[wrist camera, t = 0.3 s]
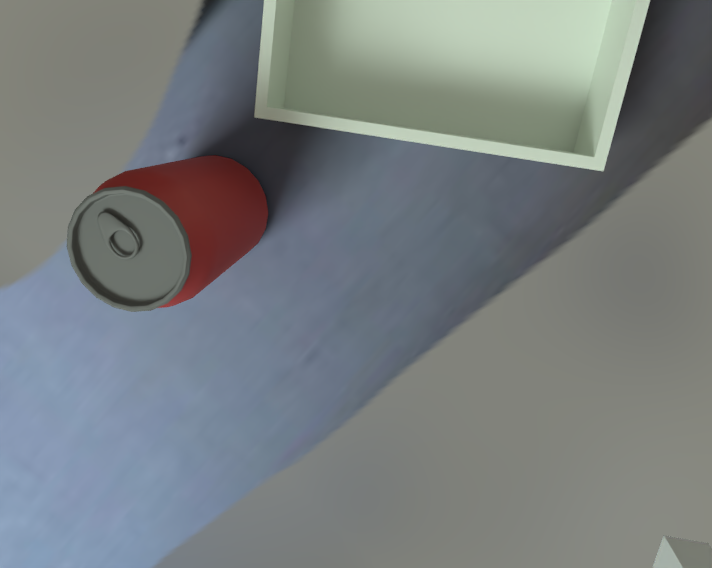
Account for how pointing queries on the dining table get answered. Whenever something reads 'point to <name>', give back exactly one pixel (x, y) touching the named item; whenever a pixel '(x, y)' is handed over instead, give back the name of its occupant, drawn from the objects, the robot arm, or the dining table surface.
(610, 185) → the dining table surface
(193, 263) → the beer can
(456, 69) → the bin
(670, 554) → the robot arm
